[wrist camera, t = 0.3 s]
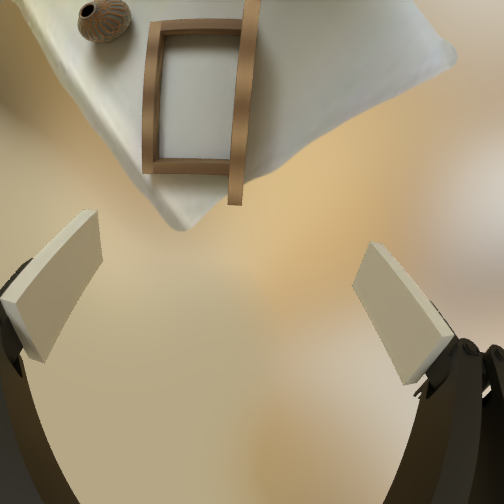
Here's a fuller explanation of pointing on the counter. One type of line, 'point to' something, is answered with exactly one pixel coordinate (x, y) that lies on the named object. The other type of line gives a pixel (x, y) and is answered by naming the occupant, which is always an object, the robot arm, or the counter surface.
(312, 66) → the counter surface
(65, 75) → the counter surface
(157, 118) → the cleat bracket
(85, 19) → the vase
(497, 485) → the robot arm
